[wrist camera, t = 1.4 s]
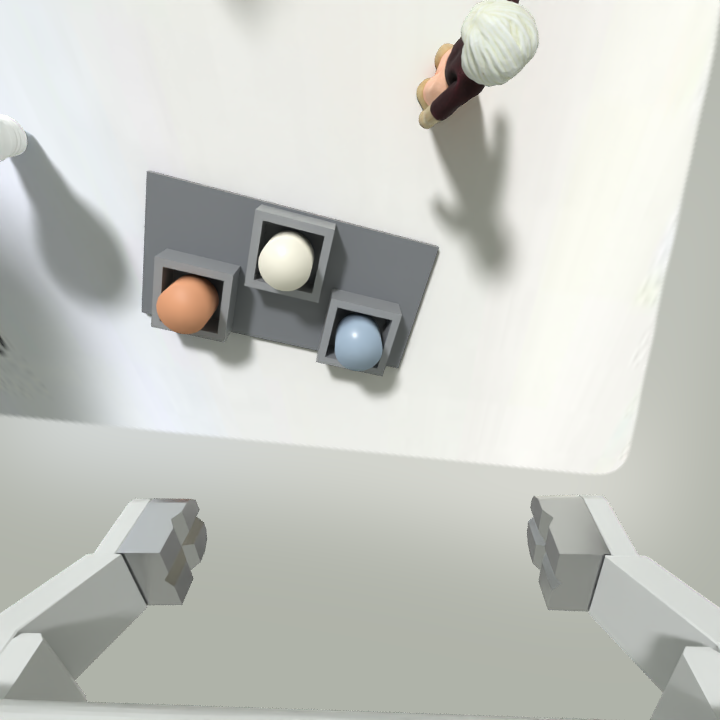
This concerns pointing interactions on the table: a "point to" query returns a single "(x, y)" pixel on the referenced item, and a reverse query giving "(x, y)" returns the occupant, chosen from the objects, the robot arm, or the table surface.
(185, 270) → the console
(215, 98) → the table surface
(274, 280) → the cream button
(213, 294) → the rust button
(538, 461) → the table surface
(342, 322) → the slate button
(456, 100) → the grandmother figurine
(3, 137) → the lightbulb
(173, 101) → the table surface
